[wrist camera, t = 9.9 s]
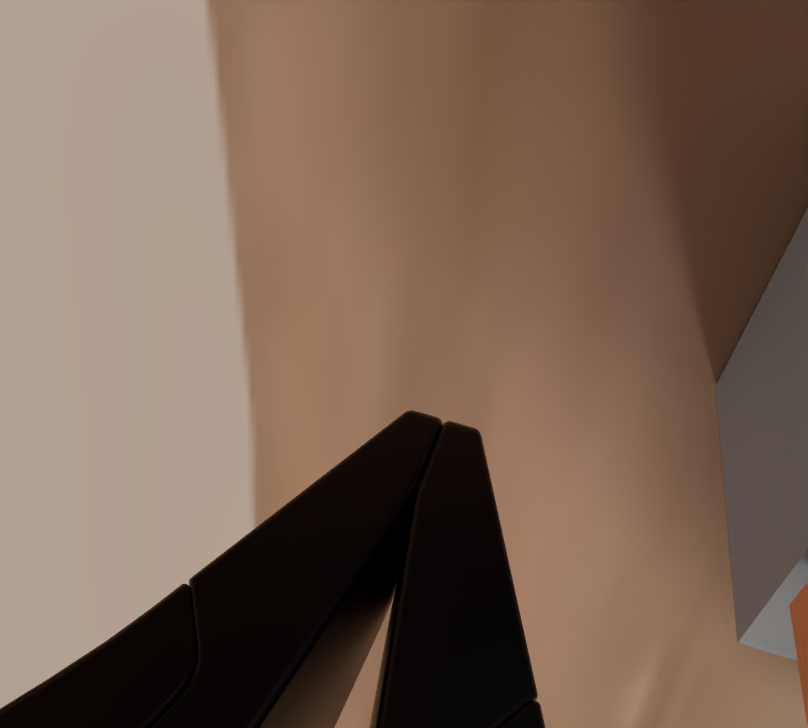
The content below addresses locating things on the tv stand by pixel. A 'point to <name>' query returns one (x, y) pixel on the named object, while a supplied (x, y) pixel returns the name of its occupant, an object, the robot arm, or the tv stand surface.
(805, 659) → the block
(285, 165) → the tv stand surface
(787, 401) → the box
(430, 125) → the tv stand surface
